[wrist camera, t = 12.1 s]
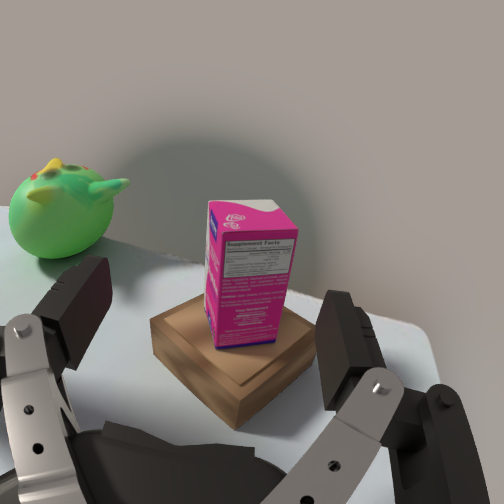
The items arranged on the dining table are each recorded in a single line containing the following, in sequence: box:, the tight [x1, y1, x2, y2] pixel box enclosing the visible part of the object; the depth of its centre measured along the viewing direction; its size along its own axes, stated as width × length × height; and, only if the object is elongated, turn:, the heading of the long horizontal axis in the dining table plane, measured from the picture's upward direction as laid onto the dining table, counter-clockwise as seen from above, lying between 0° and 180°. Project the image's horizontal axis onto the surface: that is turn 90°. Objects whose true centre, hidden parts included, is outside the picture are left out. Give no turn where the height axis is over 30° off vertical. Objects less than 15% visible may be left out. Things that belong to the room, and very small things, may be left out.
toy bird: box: [9, 158, 130, 259], centre depth 43 cm, size 18×17×15 cm
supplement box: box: [204, 200, 298, 350], centre depth 27 cm, size 6×6×12 cm
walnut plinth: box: [150, 294, 317, 430], centre depth 31 cm, size 12×12×5 cm
